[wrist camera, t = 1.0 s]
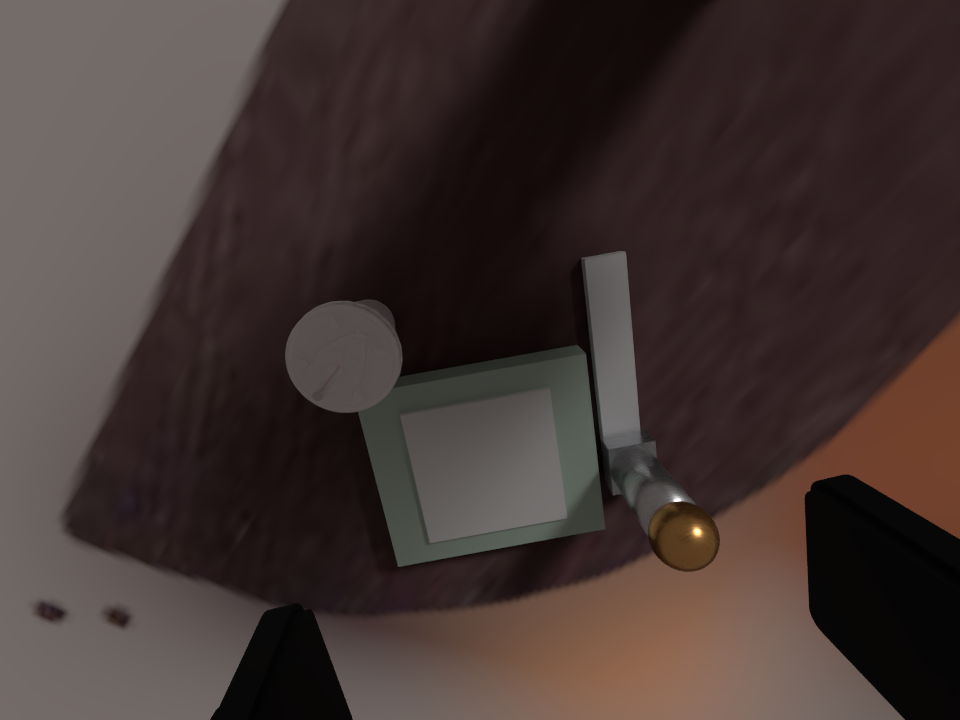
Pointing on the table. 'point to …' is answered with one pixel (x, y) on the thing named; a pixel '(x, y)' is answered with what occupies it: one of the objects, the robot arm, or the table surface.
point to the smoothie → (345, 355)
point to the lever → (659, 502)
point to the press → (506, 437)
